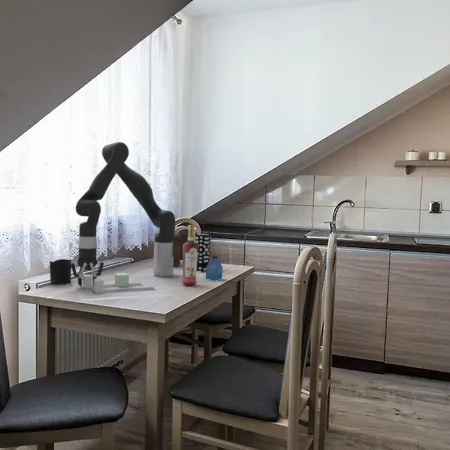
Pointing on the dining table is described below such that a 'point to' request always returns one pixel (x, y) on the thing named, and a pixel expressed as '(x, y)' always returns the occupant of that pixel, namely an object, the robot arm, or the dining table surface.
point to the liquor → (190, 259)
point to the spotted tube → (203, 251)
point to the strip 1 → (88, 285)
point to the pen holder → (60, 271)
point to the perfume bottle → (214, 269)
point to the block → (121, 279)
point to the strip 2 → (99, 289)
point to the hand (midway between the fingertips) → (87, 285)
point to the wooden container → (175, 249)
